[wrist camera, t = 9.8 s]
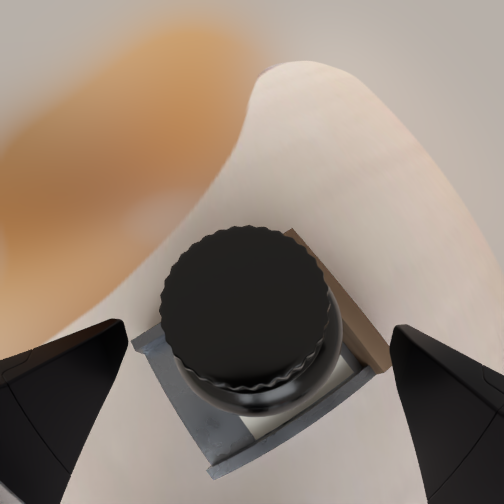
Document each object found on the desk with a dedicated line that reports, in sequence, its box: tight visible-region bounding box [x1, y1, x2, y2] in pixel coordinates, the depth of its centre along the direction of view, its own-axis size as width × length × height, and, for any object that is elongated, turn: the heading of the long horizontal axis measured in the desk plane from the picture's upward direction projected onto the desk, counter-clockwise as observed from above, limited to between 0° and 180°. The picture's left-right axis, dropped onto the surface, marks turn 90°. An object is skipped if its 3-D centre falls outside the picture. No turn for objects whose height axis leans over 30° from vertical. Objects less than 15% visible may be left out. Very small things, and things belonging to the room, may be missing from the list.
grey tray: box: [131, 228, 392, 480], centre depth 18 cm, size 13×11×4 cm
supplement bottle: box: [159, 225, 343, 417], centre depth 13 cm, size 7×7×12 cm
